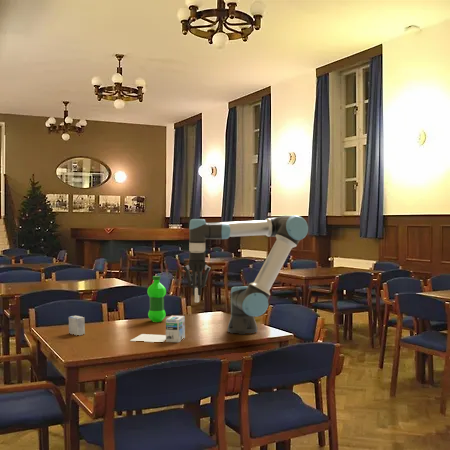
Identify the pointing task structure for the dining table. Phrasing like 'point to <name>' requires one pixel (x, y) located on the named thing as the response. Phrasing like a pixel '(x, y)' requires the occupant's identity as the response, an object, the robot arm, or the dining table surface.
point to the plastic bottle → (156, 300)
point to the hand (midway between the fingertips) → (196, 302)
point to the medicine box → (76, 325)
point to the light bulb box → (175, 328)
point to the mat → (150, 338)
